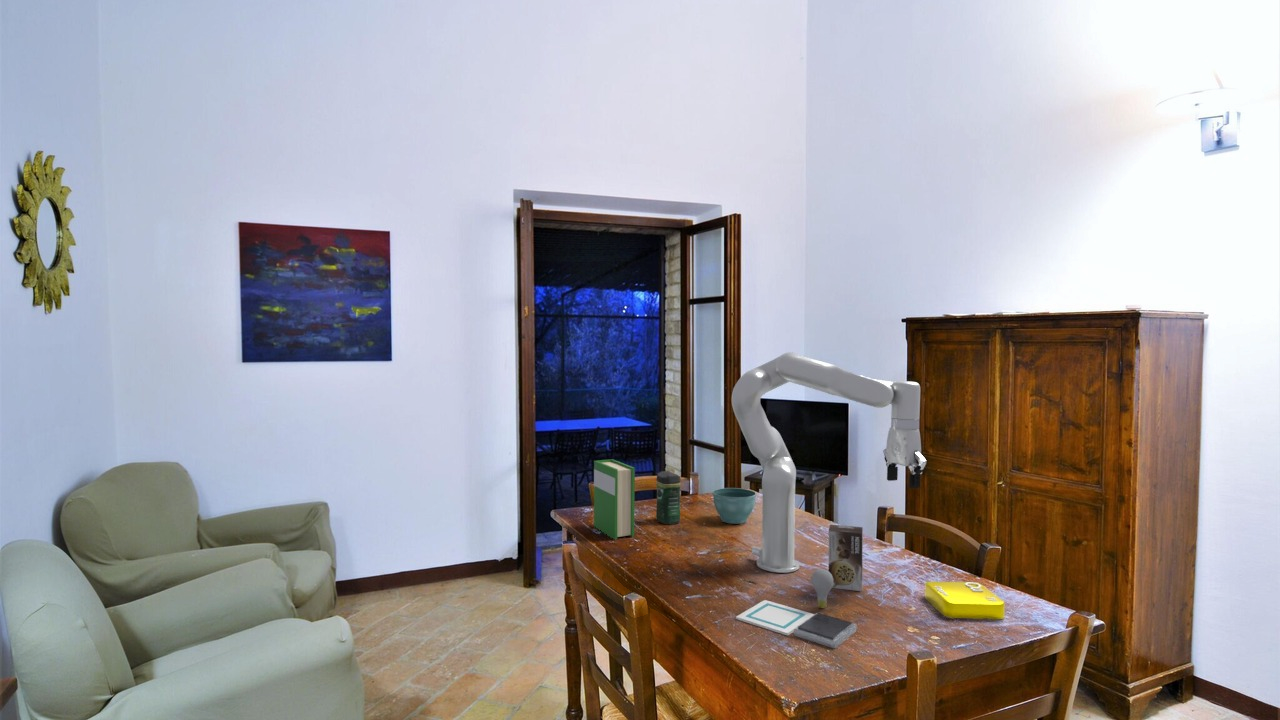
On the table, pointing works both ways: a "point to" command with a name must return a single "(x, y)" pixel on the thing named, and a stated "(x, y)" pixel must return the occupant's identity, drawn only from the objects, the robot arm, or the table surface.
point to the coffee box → (846, 557)
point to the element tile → (964, 600)
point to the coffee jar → (668, 497)
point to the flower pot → (734, 504)
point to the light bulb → (822, 585)
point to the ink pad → (825, 630)
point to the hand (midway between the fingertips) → (903, 483)
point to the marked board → (774, 617)
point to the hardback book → (614, 498)
